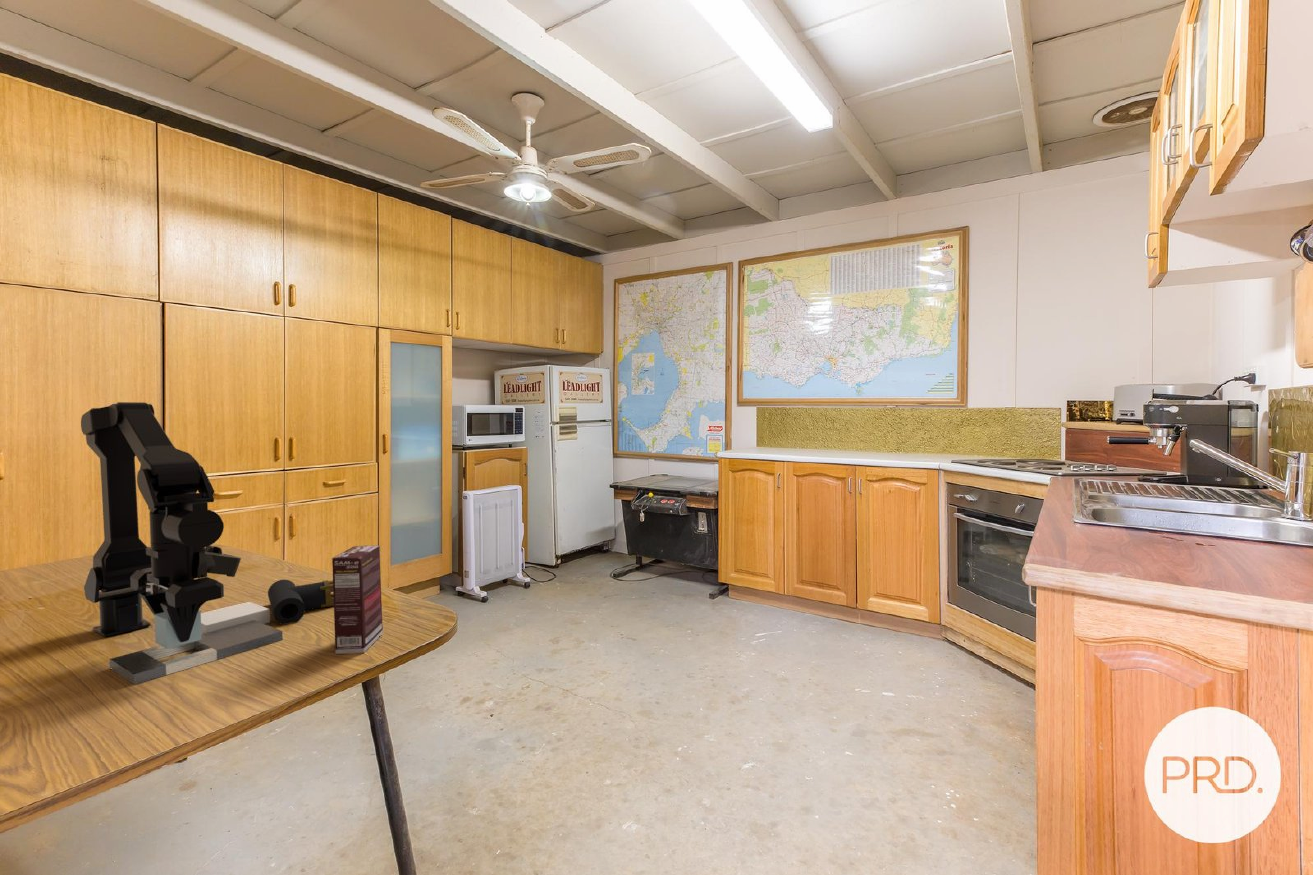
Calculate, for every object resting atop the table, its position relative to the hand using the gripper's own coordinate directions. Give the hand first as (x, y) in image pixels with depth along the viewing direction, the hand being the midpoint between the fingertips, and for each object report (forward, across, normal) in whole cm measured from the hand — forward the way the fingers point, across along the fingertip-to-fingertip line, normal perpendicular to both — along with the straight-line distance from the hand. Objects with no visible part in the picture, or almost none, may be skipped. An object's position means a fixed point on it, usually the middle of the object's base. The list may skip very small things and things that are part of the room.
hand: (178, 638), depth 94 cm
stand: (+4, +10, -11) cm, 15 cm away
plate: (+4, 0, -3) cm, 5 cm away
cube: (0, 0, 0) cm, 1 cm away
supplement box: (+4, -18, -19) cm, 27 cm away
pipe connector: (+4, +8, -24) cm, 25 cm away
